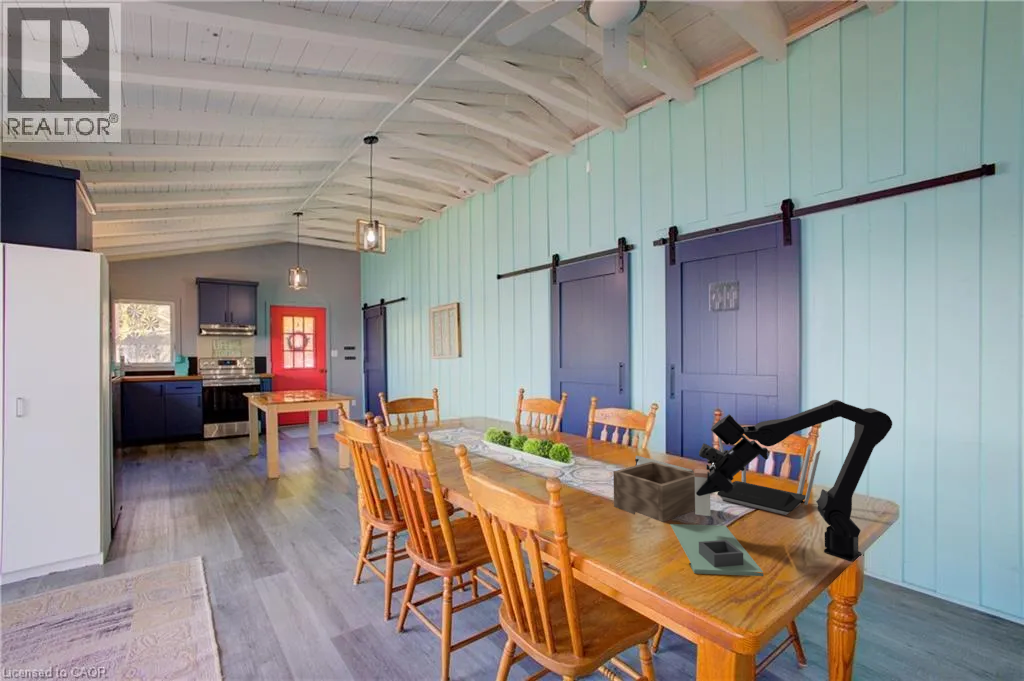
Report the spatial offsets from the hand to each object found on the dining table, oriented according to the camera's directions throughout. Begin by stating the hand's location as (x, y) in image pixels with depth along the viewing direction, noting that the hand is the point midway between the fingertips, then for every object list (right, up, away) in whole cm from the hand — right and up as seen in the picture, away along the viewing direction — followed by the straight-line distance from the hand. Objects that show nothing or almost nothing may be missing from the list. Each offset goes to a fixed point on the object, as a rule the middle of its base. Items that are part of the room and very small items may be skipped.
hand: (697, 492), depth 138 cm
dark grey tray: (0, -13, -16) cm, 21 cm away
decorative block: (+6, -12, +52) cm, 53 cm away
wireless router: (+34, -12, +28) cm, 46 cm away
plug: (+1, -6, 0) cm, 6 cm away
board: (+1, -13, -8) cm, 15 cm away
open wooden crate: (-5, -12, +22) cm, 26 cm away
